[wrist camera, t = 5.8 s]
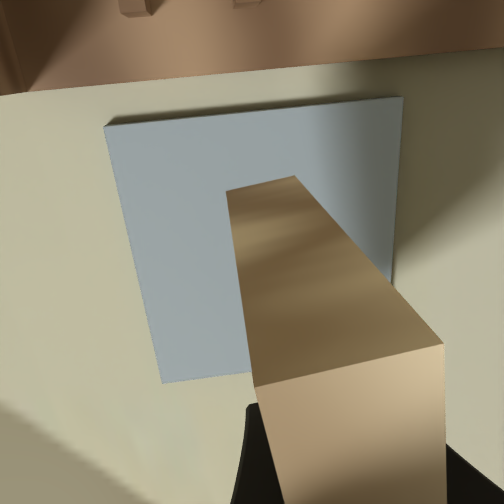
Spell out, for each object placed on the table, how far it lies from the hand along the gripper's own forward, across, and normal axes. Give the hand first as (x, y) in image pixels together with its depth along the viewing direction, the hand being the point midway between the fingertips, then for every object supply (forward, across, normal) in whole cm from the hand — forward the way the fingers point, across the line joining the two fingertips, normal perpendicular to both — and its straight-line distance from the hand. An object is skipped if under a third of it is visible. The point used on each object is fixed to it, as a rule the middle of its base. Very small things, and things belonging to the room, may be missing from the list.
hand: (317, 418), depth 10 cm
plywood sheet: (+4, 0, 0) cm, 4 cm away
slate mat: (+10, 0, 0) cm, 10 cm away
